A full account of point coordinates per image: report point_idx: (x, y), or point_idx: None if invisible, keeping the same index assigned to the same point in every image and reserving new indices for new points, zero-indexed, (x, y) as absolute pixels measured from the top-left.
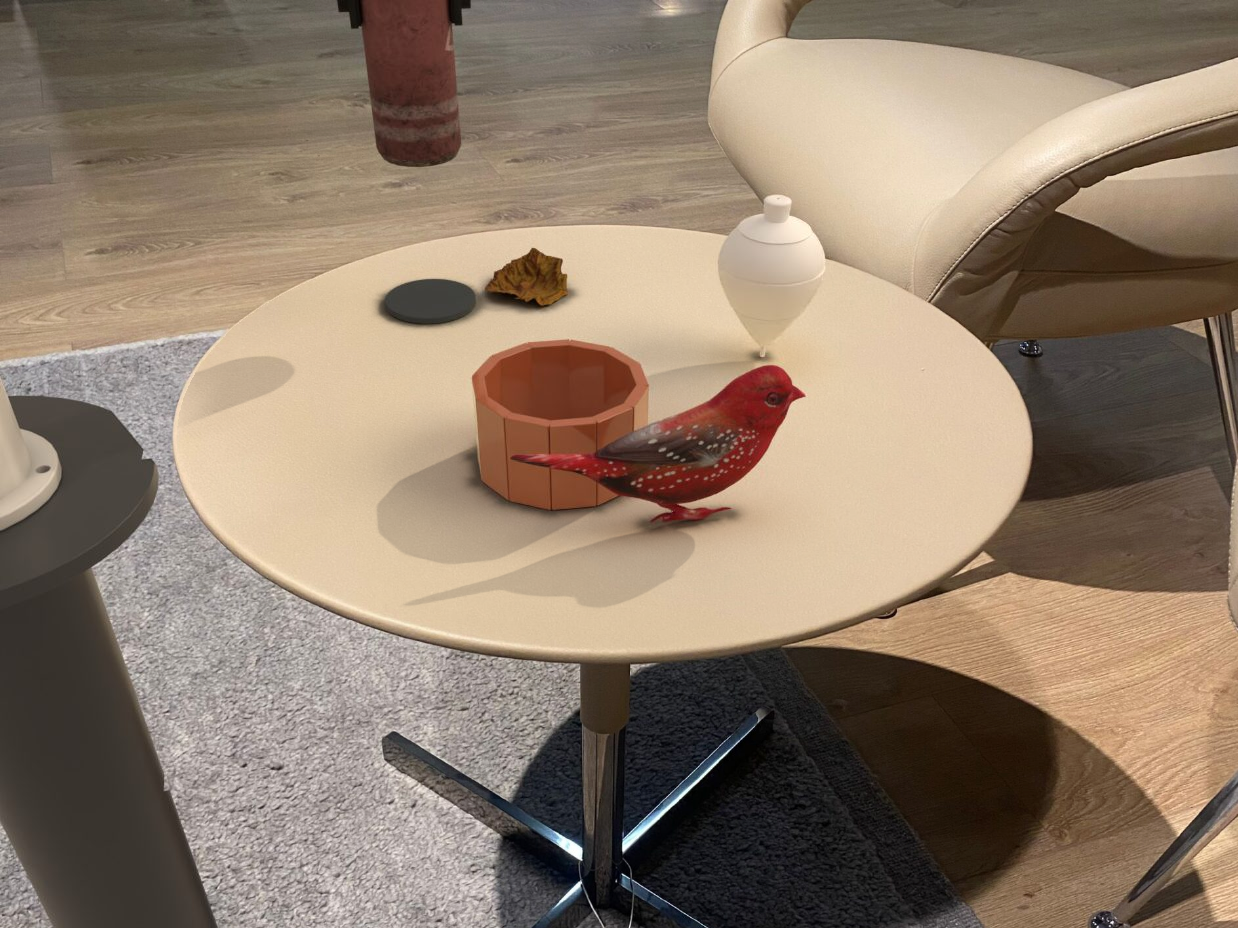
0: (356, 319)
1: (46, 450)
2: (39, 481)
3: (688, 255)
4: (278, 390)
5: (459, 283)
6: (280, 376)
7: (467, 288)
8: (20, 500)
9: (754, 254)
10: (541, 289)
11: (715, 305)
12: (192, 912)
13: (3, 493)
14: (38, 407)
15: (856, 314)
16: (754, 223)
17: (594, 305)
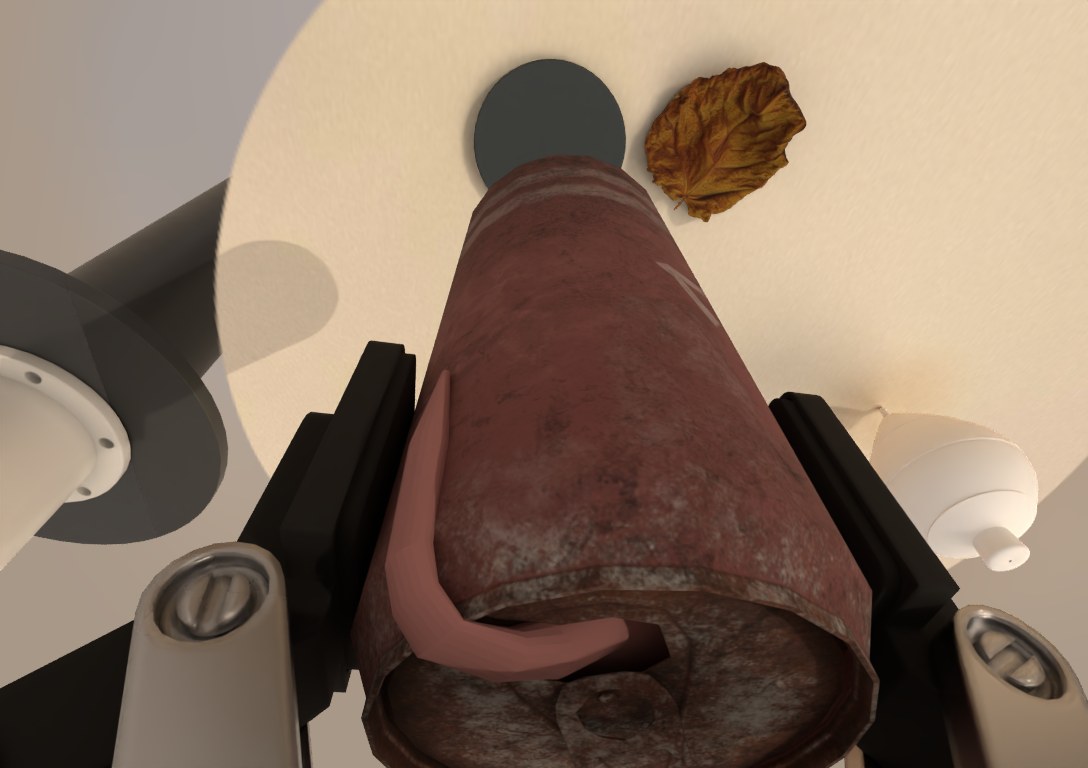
0: (425, 165)
1: (92, 415)
2: (112, 459)
3: (1055, 80)
4: (322, 334)
5: (612, 102)
6: (321, 302)
7: (619, 129)
8: (109, 480)
9: None
10: (737, 152)
11: (937, 277)
12: None
13: (88, 475)
14: (22, 294)
15: (1070, 350)
16: (958, 532)
17: (784, 227)
